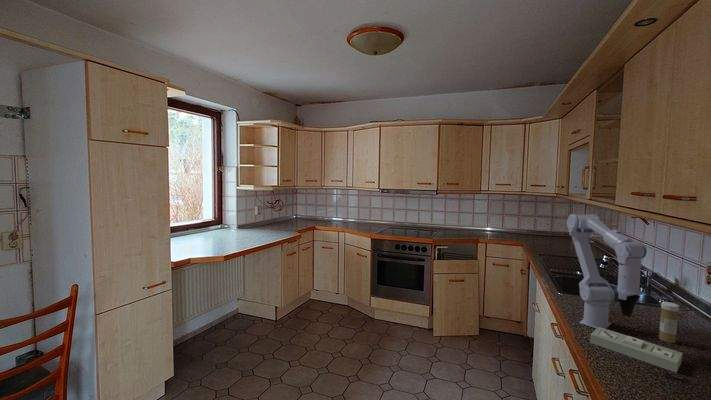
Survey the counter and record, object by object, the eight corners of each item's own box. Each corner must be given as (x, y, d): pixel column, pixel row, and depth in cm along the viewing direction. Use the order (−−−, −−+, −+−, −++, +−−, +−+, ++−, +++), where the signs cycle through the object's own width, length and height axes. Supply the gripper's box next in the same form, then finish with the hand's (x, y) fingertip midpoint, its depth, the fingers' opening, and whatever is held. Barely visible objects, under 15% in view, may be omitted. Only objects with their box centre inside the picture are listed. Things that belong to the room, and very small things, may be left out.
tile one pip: (627, 341, 112) (627, 334, 112) (643, 346, 108) (644, 340, 108) (623, 345, 109) (624, 339, 109) (640, 351, 106) (641, 344, 105)
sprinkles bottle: (658, 335, 120) (661, 300, 118) (675, 340, 116) (679, 303, 115) (658, 340, 116) (661, 303, 115) (676, 345, 113) (679, 307, 112)
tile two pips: (654, 352, 106) (654, 346, 106) (672, 358, 103) (673, 352, 103) (651, 357, 104) (651, 350, 104) (670, 364, 100) (670, 357, 100)
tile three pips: (602, 335, 117) (602, 329, 117) (617, 340, 114) (617, 334, 114) (598, 339, 115) (598, 333, 114) (613, 344, 111) (614, 338, 111)
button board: (598, 334, 120) (598, 326, 120) (681, 361, 103) (682, 352, 103) (589, 342, 115) (590, 334, 115) (676, 372, 98) (677, 363, 97)
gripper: (638, 283, 104) (636, 325, 105) (649, 275, 113) (646, 313, 114) (611, 278, 110) (609, 317, 111) (623, 270, 119) (621, 307, 120)
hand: (626, 315), depth 113 cm, fingers closed
